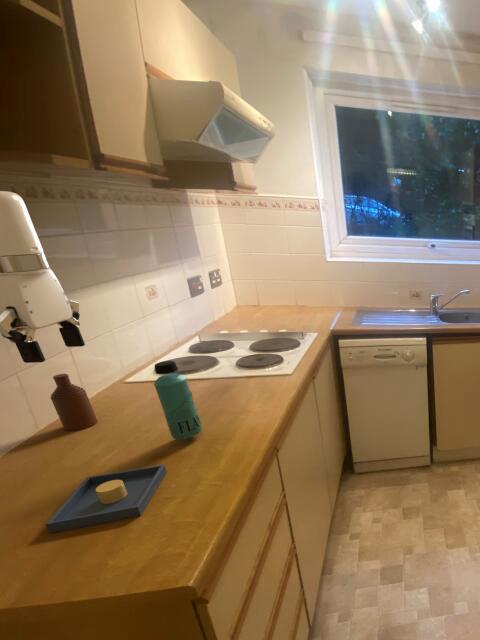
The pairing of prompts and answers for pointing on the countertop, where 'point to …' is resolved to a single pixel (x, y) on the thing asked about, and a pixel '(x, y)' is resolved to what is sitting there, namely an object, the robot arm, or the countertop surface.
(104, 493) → the cap
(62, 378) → the sauce bottle
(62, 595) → the countertop surface
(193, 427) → the beverage bottle
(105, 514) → the tray
